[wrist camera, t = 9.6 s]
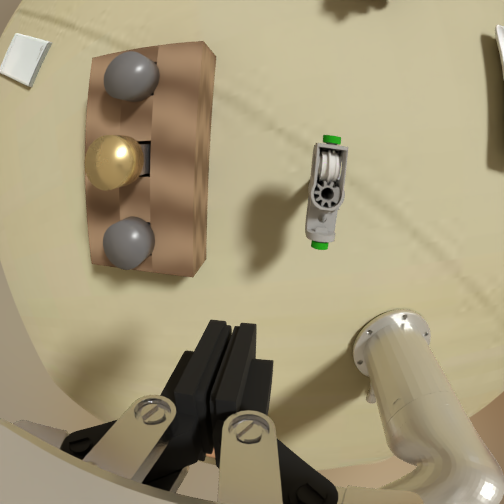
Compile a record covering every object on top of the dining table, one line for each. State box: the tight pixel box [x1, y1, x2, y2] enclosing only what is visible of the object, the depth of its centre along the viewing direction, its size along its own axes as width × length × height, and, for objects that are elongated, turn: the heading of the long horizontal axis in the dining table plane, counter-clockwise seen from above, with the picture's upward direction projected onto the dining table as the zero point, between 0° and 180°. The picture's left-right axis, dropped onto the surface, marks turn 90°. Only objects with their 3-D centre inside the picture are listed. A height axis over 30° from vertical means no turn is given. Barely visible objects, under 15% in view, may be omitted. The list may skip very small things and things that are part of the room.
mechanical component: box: [305, 135, 348, 250], centre depth 30 cm, size 3×10×10 cm, turn 176°
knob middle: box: [85, 135, 151, 190], centre depth 28 cm, size 5×5×8 cm
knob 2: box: [103, 216, 155, 270], centre depth 34 cm, size 5×5×8 cm
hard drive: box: [0, 33, 52, 87], centre depth 31 cm, size 2×8×12 cm
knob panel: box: [85, 41, 216, 277], centre depth 33 cm, size 26×14×6 cm, turn 176°
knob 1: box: [104, 51, 160, 102], centre depth 28 cm, size 5×5×8 cm
